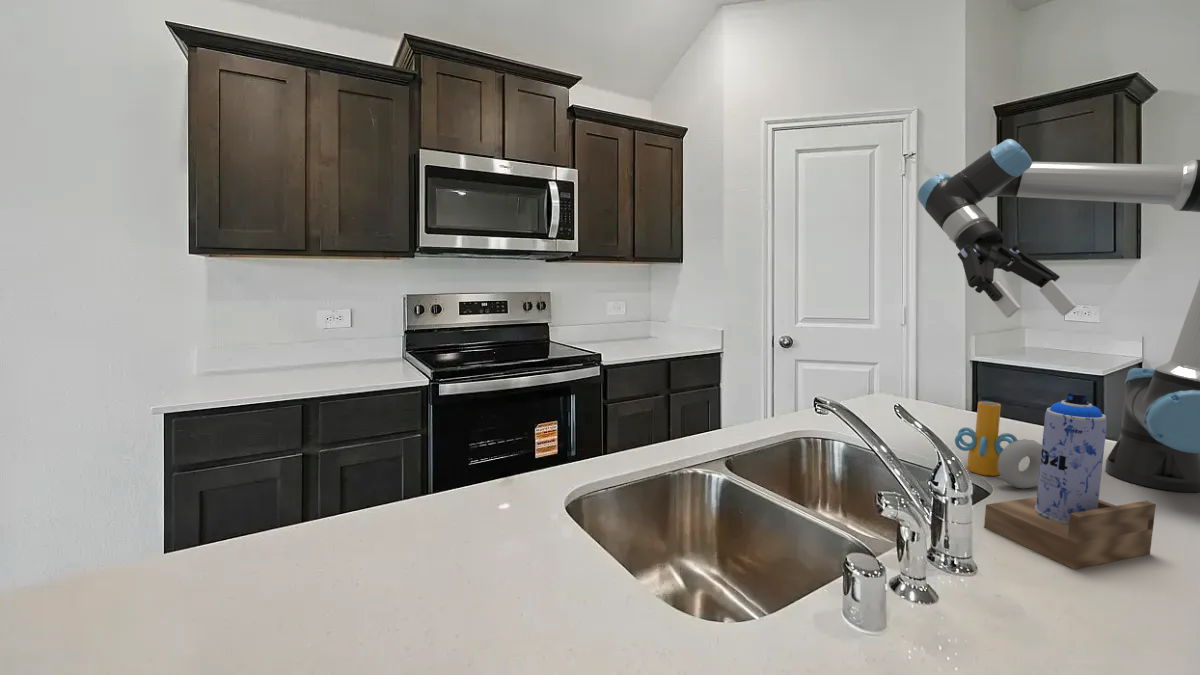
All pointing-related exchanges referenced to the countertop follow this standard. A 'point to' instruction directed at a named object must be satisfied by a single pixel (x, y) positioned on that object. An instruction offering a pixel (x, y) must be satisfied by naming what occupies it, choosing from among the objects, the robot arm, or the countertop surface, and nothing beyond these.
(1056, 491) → the aerosol can
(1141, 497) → the countertop surface
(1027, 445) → the donut
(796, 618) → the countertop surface
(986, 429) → the cylinder
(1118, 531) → the shelf step
